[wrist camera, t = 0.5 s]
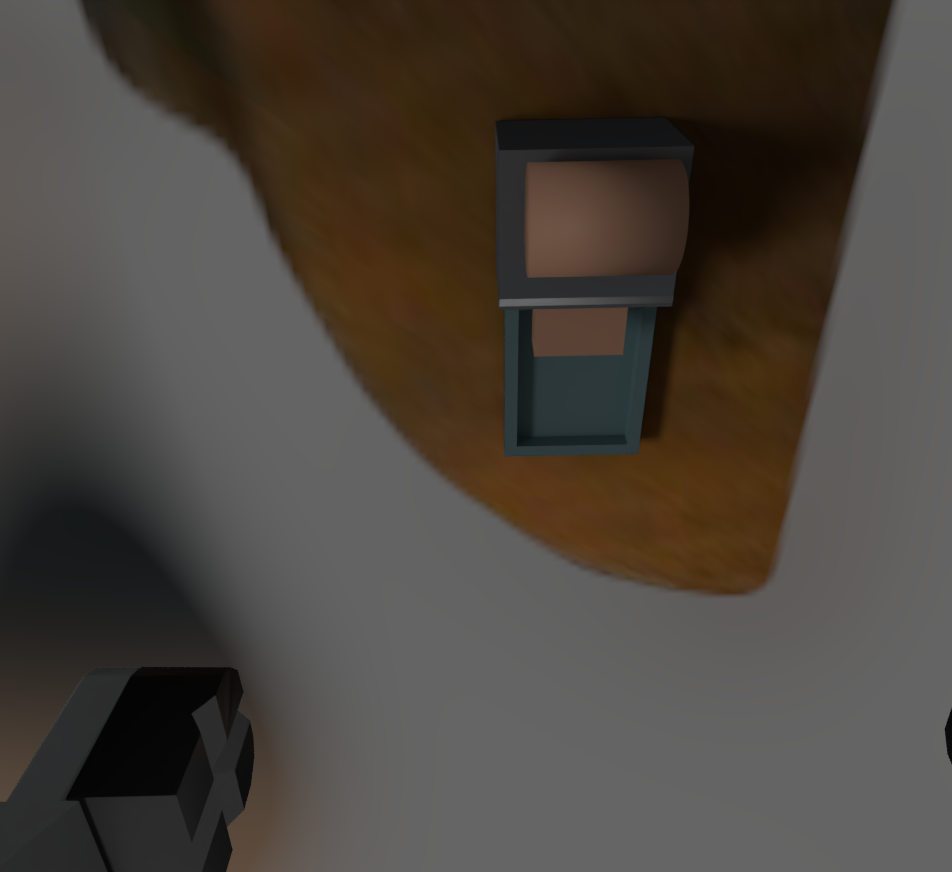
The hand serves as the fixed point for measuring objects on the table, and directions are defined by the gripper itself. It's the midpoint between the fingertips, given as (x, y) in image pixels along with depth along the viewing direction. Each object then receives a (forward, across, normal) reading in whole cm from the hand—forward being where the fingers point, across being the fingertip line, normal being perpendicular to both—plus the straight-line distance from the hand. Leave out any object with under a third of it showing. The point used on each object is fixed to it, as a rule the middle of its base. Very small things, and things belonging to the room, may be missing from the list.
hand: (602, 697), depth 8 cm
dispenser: (+37, -5, +1) cm, 37 cm away
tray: (+38, -5, +12) cm, 40 cm away
